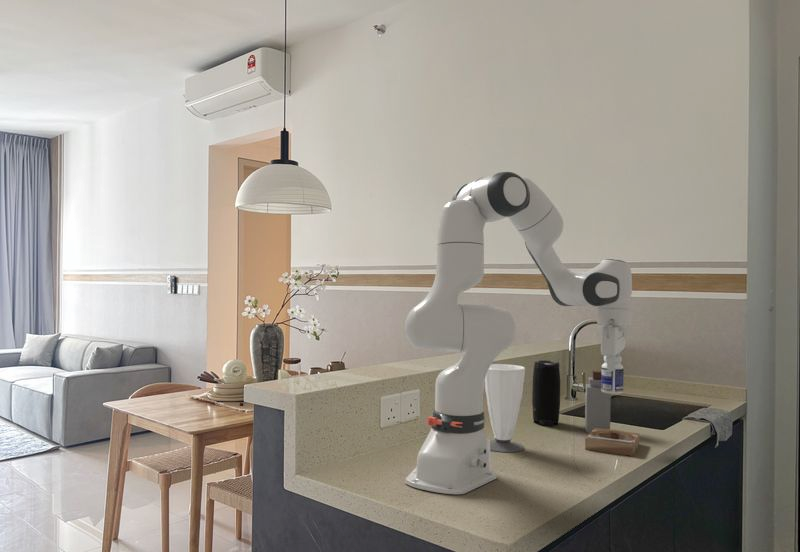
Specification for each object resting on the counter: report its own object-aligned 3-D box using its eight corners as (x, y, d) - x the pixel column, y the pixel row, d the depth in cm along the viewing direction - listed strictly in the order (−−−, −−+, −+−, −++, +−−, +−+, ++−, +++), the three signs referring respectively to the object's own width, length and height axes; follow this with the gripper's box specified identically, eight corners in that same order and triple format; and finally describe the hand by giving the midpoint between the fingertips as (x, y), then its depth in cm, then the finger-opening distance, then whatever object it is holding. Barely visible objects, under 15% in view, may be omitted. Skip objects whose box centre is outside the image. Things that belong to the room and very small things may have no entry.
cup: (509, 439, 170) (510, 363, 170) (533, 450, 160) (534, 368, 160) (473, 443, 166) (474, 364, 166) (495, 454, 155) (497, 370, 155)
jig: (632, 456, 156) (632, 443, 156) (585, 449, 161) (585, 436, 161) (639, 444, 168) (639, 431, 168) (594, 438, 174) (594, 426, 174)
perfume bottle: (586, 432, 180) (587, 372, 181) (585, 427, 187) (585, 369, 187) (610, 434, 179) (611, 373, 179) (607, 428, 185) (608, 370, 186)
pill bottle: (620, 390, 168) (621, 355, 168) (625, 395, 162) (626, 358, 162) (599, 389, 168) (600, 354, 168) (603, 393, 163) (604, 357, 163)
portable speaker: (535, 426, 187) (535, 363, 187) (529, 419, 196) (530, 359, 196) (562, 427, 186) (563, 363, 187) (556, 420, 196) (556, 360, 196)
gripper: (620, 321, 154) (619, 375, 154) (630, 317, 172) (629, 365, 173) (595, 320, 157) (594, 372, 157) (607, 316, 175) (606, 363, 175)
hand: (612, 368), depth 165 cm, fingers closed on pill bottle, 6 cm apart
